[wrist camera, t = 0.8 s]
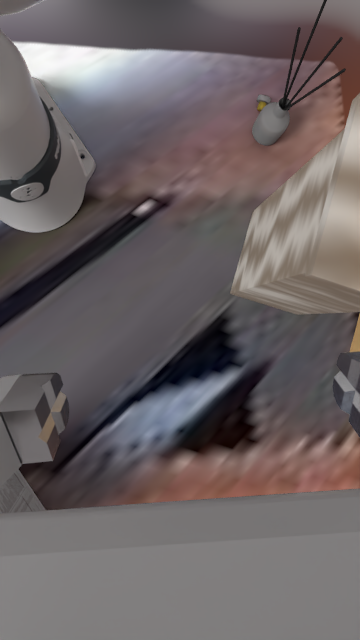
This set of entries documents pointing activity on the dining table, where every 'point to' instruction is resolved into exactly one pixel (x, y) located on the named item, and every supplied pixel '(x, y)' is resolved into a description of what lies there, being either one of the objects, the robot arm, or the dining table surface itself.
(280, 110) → the reed diffuser
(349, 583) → the robot arm
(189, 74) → the dining table surface
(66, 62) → the dining table surface
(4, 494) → the supplement box
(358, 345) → the ochre bar
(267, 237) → the birch pedestal
